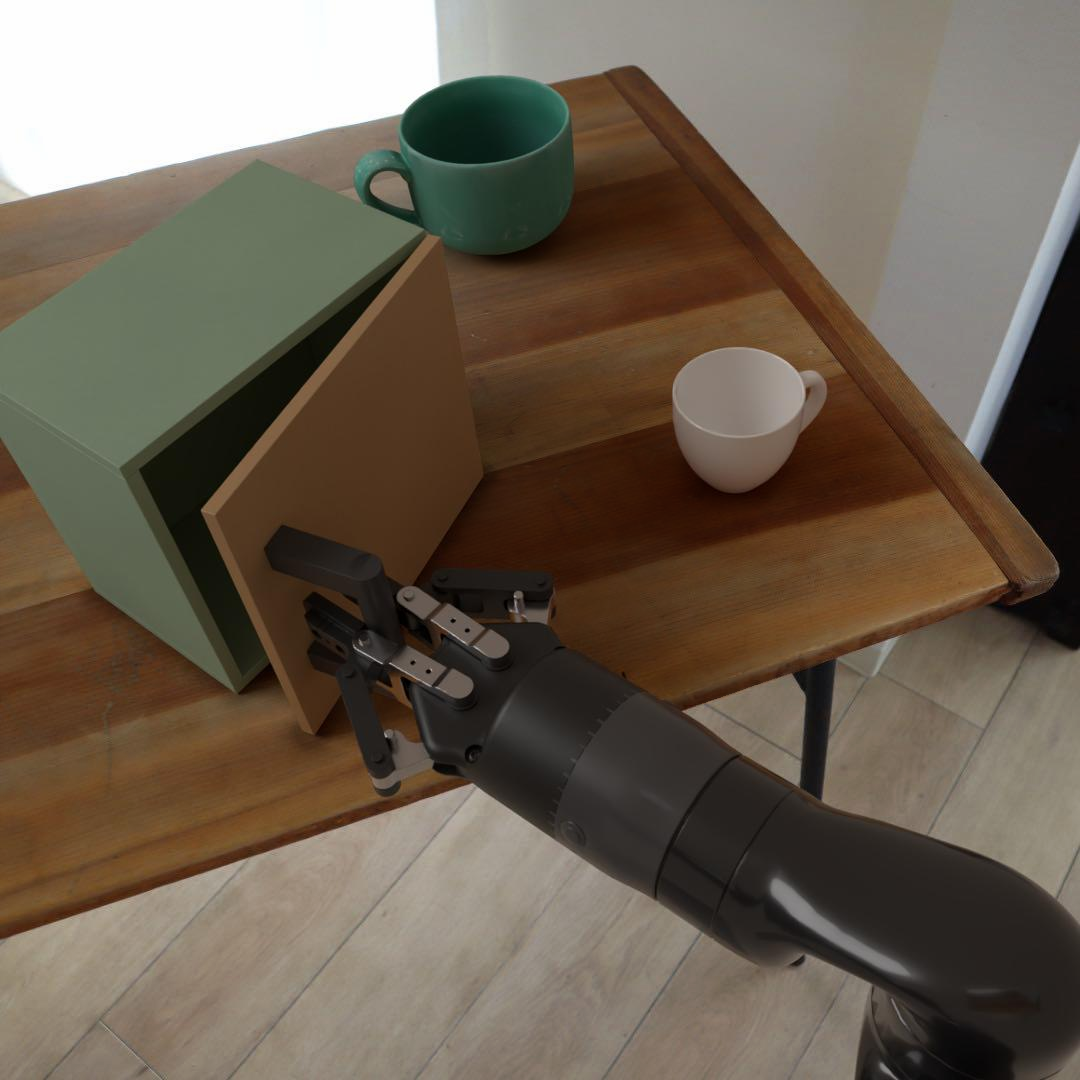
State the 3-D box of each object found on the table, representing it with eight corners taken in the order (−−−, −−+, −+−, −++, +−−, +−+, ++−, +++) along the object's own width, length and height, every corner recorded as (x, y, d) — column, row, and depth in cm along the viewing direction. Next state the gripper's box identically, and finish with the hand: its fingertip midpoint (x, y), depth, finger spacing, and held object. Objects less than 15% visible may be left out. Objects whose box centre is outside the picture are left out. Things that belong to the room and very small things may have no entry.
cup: (650, 451, 76) (649, 372, 71) (785, 399, 78) (794, 319, 73) (709, 532, 71) (712, 454, 66) (852, 475, 73) (866, 395, 68)
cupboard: (471, 471, 76) (425, 228, 62) (237, 694, 66) (119, 468, 52) (328, 396, 82) (257, 158, 68) (94, 591, 72) (-47, 362, 58)
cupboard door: (566, 499, 73) (542, 258, 60) (406, 772, 62) (330, 553, 48) (472, 472, 76) (428, 233, 62) (302, 731, 64) (200, 510, 50)
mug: (556, 168, 97) (547, 59, 90) (597, 256, 89) (590, 144, 82) (359, 210, 96) (334, 103, 89) (383, 304, 88) (357, 194, 81)
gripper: (522, 931, 50) (246, 729, 58) (696, 705, 57) (428, 550, 64) (504, 856, 45) (200, 642, 52) (700, 613, 51) (405, 455, 59)
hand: (327, 591), depth 58 cm, fingers closed on cupboard door
